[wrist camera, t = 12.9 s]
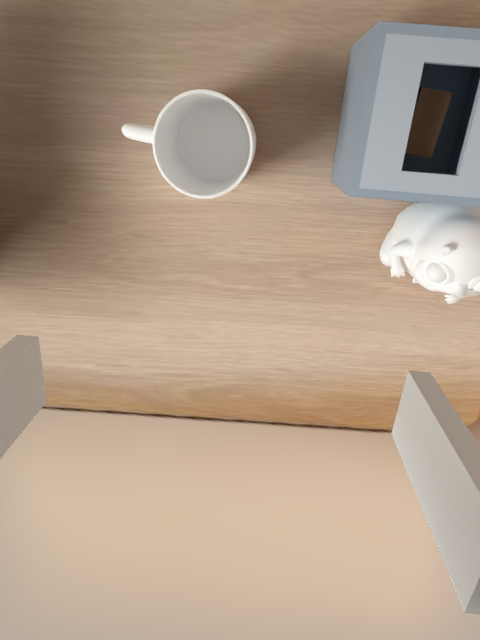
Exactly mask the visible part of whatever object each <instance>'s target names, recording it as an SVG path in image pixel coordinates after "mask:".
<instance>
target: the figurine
mask: <svg viewBox="0 0 480 640" xmlns="http://www.w3.org/2000/svg"><path fill="white" fill-rule="evenodd" d="M380 259H381V262H382V263H383V264H384V265H385V266H388V267H391V270H390V272H391V277H393V276H396V277H397V278H399V277H401V276H403V277H405V273H404V271H405V270H406V271H407V272H408V273H409V274H410V275H411V276H412V277H413V281H412V282H413V283H420V284H421V285H422V286H423V287H424V288H426V289H428V290H430V291H440V292H445V293H449V294H446V295H444V296H445V297H446V299H445V300H446V301H447V304H448V303H449V304H451V303H457V302H458V301H459V300H460V299H462V298H465V297H472V296H476V295H479V294H480V207H471V206H459V205H447V204H435V203H423V202H415V203H413V204H411V205H409V206H408V207H406V208H405V209H404V210H402V211H401V212H400V214H399V215H398V216H397V218H396V220H395V223H394V225H393V227H392V229H391V230H390V231H389V232H388V234H387V236H386V238H385V240H384V242H383V244H382V246H381V249H380ZM401 264H402V265H401Z"/></svg>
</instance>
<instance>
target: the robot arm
mask: <svg viewBox="0 0 480 640" xmlns="http://www.w3.org/2000/svg"><path fill="white" fill-rule="evenodd" d="M45 403H46V394H45V386H44V378H43V370H42V362H41V354H40V346H39V338H38V337H35V336H24V335H16V336H15V337H14V338H13V339H12V340H10V341H9V342H8V343H7V344H6V345H4V346H3V347H2V348H1V349H0V459H1V458H2V456H3V455H4V454H5V453H6V451H7V450H8V449H9V448H10V446H11V445H12V444H13V443H14V441H15V440H16V439H17V437H18V436H19V435H20V434H21V433H22V431H23V430H24V429H25V428H26V426H27V425H28V424H29V422H30V421H31V420H32V419H33V418H34V416H35V415H36V414H37V413H38V411H39V410H40V409H41V408H42V407H43V405H44V404H45ZM392 437H393V439H394V441H395V443H396V446H397V449H398V451H399V454H400V456H401V459H402V461H403V464H404V466H405V468H406V471H407V473H408V476H409V478H410V481H411V483H412V486H413V488H414V490H415V493H416V495H417V498H418V500H419V503H420V505H421V507H422V510H423V513H424V515H425V517H426V520H427V522H428V525H429V527H430V530H431V532H432V535H433V537H434V539H435V542H436V544H437V547H438V549H439V552H440V554H441V557H442V559H443V562H444V564H445V566H446V569H447V571H448V574H449V576H450V579H451V581H452V583H453V586H454V588H455V591H456V593H457V596H458V598H459V601H460V603H461V606H462V608H463V610H464V612H465V613H474V614H480V446H479V445H478V443H477V442H476V440H475V439H474V437H473V436H472V434H471V433H470V431H469V430H468V429H467V427H466V425H465V424H464V422H463V421H462V419H461V418H460V416H459V415H458V413H457V412H456V410H455V409H454V407H453V406H452V404H451V403H450V401H449V400H448V398H447V397H446V395H445V394H444V392H443V391H442V389H441V388H440V386H439V385H438V383H437V382H436V380H435V379H434V378H433V376H432V375H431V373H429V372H418V371H408V374H407V377H406V381H405V385H404V389H403V393H402V396H401V400H400V404H399V408H398V412H397V415H396V419H395V423H394V427H393V431H392Z"/></svg>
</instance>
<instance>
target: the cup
mask: <svg viewBox="0 0 480 640" xmlns="http://www.w3.org/2000/svg"><path fill="white" fill-rule="evenodd" d="M122 133H123V135H124V136H125V137H127V138H130V139H133V140H137V141H141V142H145V143H150V144H152V145H153V153H154V158H155V161H156V164H157V166H158V168H159V170H160V172H161V174H162V175H163V177H164V178H165V179H166V180H167V182H168V183H169V184H170V185H171V186H173V187H174V188H175V189H177V190H178V191H180V192H181V193H183V194H185V195H188V196H191V197H194V198H200V199H210V198H216V197H219V196H222V195H224V194H226V193H228V192H230V191H231V190H233V189H234V188H235V187H237V186H238V185H239V184H240V182H241V181H242V180H243V179H244V177H245V176H246V174H247V172H248V170H249V168H250V166H251V163H252V161H253V158H254V155H255V151H256V134H255V130H254V126H253V124H252V122H251V120H250V118H249V116H248V115H247V113H246V112H245V111H244V110H243V109H242V108H241V107H240V106H239V105H238V104H237V103H235V102H234V101H233V100H232V99H230V98H229V97H227V96H226V95H224V94H222V93H219V92H217V91H213V90H208V89H194V90H189V91H186V92H184V93H181V94H179V95H178V96H176V97H174V98H173V99H172V100H171V101H170V102H168V103H167V105H166V106H165V107H164V108H163V110H162V111H161V112H160V114H159V116H158V118H157V120H156V123H155V126H152V125H144V124H133V123H128V124H124V125H123V126H122Z"/></svg>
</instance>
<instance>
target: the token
mask: <svg viewBox="0 0 480 640" xmlns="http://www.w3.org/2000/svg"><path fill="white" fill-rule="evenodd" d="M451 96H452V93H451V92H446V91H441V90H435V89H430V88H425V87H420V88H419V90H418V94H417V99H416V104H415V109H414V113H413V118H412V123H411V128H410V132H409V137H408V142H407V147H406V151H405V153H406V154H411V155H416V156H422V157H427V158H431V157H432V154H433V151H434V148H435V145H436V142H437V139H438V136H439V133H440V130H441V127H442V124H443V120H444V117H445V114H446V111H447V108H448V105H449V102H450V99H451Z"/></svg>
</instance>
